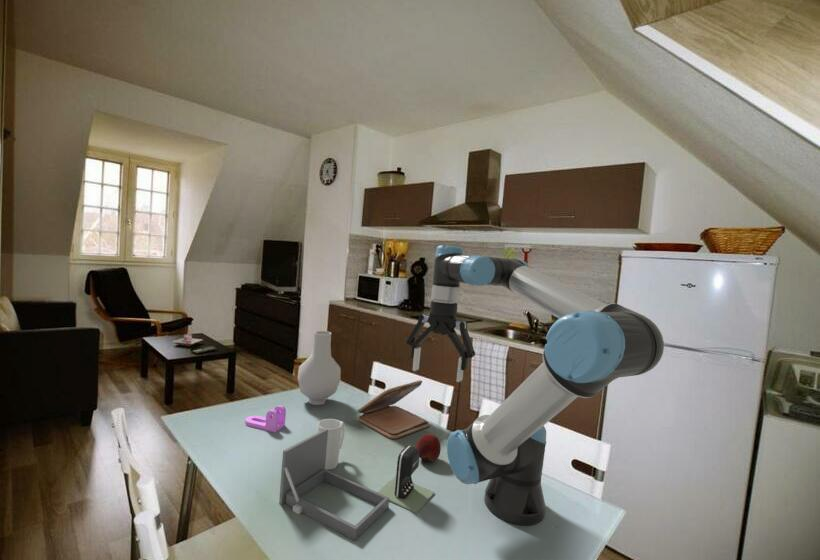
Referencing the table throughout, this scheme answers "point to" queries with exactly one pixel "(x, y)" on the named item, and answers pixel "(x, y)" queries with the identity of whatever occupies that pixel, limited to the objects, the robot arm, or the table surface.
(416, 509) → the mat
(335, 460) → the mug
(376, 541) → the table surface
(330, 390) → the vase
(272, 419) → the bracket
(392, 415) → the case
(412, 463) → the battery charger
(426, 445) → the apple
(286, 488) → the case
